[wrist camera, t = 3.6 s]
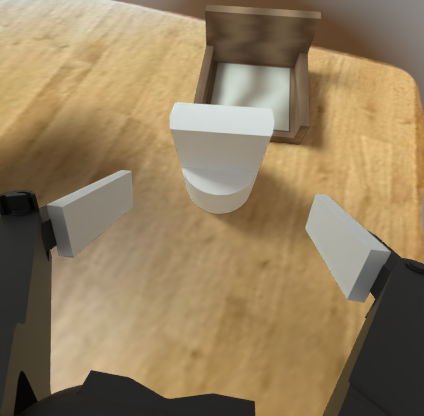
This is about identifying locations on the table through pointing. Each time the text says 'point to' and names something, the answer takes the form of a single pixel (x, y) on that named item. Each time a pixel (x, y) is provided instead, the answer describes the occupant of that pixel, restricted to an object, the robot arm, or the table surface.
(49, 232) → the robot arm
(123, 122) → the table surface
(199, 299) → the table surface
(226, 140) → the base with upright slab
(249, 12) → the walnut rest
